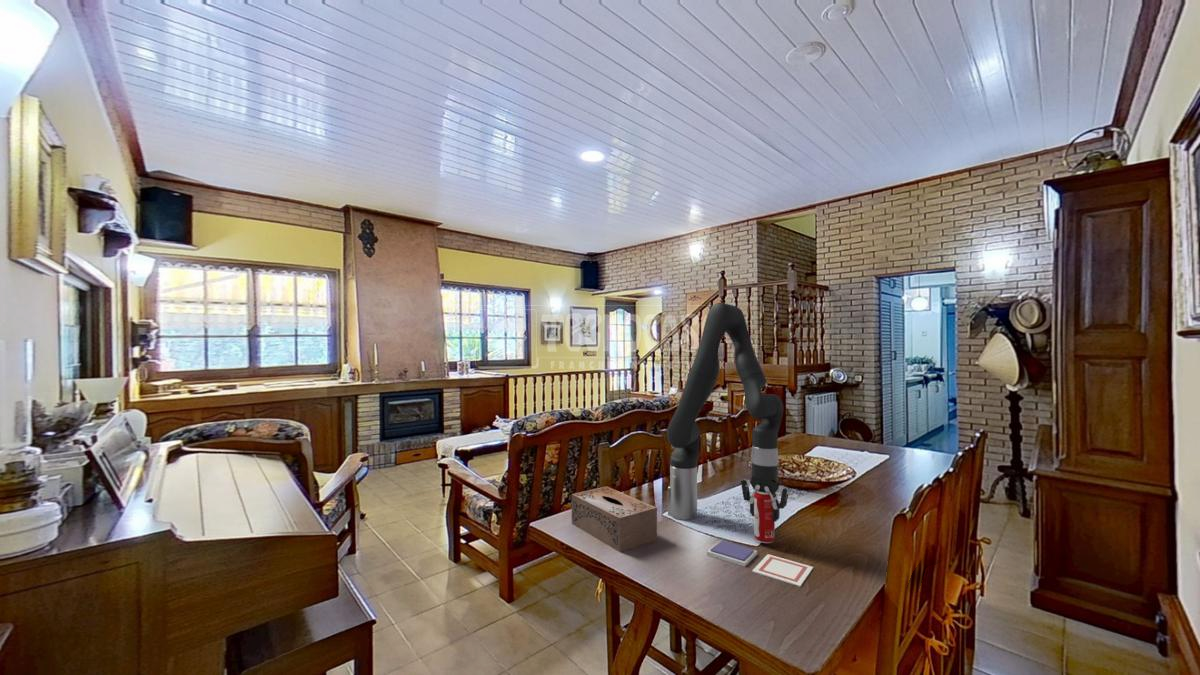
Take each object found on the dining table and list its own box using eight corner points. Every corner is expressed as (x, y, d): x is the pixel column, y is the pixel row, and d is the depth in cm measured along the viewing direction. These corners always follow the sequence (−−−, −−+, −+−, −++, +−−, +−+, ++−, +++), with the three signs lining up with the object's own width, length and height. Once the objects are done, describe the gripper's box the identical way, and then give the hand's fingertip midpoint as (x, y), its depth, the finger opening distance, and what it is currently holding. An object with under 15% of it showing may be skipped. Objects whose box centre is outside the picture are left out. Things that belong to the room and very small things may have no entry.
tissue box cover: (571, 524, 154) (571, 494, 154) (606, 514, 162) (606, 486, 162) (619, 553, 133) (619, 518, 133) (656, 540, 142) (656, 507, 142)
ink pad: (707, 555, 131) (707, 549, 131) (720, 543, 138) (720, 538, 138) (745, 566, 124) (745, 561, 124) (757, 554, 131) (757, 549, 131)
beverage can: (774, 537, 140) (774, 487, 140) (774, 546, 134) (775, 494, 134) (753, 534, 142) (754, 485, 142) (753, 543, 136) (753, 491, 136)
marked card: (752, 571, 122) (752, 570, 122) (767, 555, 131) (767, 553, 131) (800, 586, 114) (800, 585, 114) (813, 568, 123) (813, 566, 123)
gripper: (793, 463, 137) (793, 520, 137) (746, 455, 146) (745, 508, 146) (785, 468, 131) (785, 528, 131) (736, 460, 140) (736, 516, 140)
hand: (764, 517), depth 138 cm, fingers closed on beverage can, 5 cm apart
